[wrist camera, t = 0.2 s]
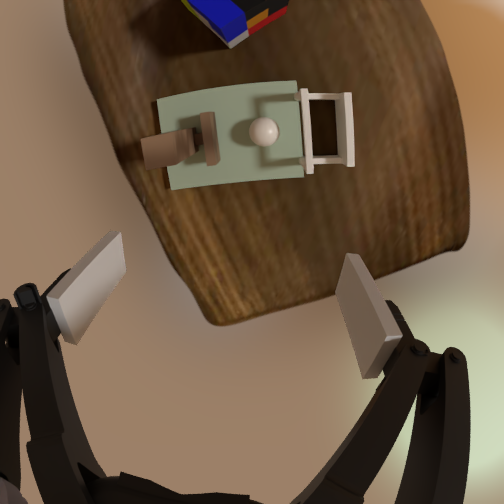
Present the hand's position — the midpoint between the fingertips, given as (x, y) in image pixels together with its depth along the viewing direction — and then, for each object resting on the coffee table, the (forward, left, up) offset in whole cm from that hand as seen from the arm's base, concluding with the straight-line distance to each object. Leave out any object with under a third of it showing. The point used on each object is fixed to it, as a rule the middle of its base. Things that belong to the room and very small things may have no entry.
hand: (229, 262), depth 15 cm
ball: (-5, +3, -24) cm, 24 cm away
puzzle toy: (-25, +1, -27) cm, 37 cm away
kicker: (-6, -7, -25) cm, 27 cm away
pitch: (-5, +1, -27) cm, 28 cm away
